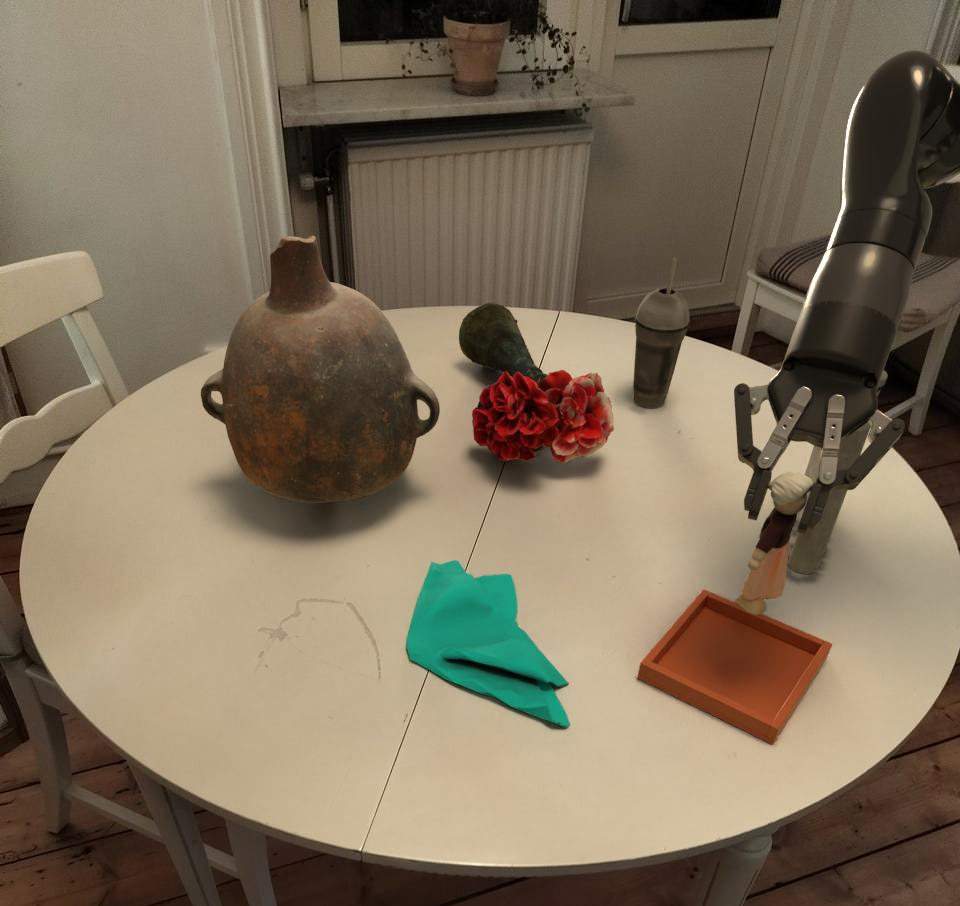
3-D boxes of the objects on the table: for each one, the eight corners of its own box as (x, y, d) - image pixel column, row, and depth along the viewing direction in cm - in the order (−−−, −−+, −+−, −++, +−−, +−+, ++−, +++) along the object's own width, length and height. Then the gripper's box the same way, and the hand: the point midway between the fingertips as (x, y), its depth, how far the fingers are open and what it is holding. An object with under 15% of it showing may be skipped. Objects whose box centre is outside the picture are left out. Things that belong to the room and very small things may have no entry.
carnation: (478, 411, 134) (577, 525, 109) (386, 348, 123) (474, 459, 98) (541, 326, 129) (660, 425, 104) (452, 252, 118) (562, 343, 93)
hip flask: (797, 494, 105) (848, 335, 91) (831, 500, 104) (888, 341, 91) (786, 570, 94) (843, 403, 80) (825, 578, 93) (888, 410, 79)
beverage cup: (668, 388, 125) (694, 244, 111) (680, 412, 119) (708, 265, 106) (618, 388, 124) (638, 244, 111) (628, 413, 119) (650, 265, 105)
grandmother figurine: (771, 627, 73) (814, 504, 65) (726, 614, 75) (763, 491, 66) (787, 576, 79) (829, 455, 70) (745, 564, 80) (782, 444, 71)
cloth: (382, 573, 93) (380, 556, 91) (503, 553, 96) (504, 536, 94) (440, 755, 74) (439, 738, 73) (588, 724, 77) (591, 707, 76)
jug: (397, 429, 115) (384, 184, 94) (456, 516, 101) (456, 249, 80) (212, 464, 108) (155, 208, 87) (247, 563, 93) (188, 284, 73)
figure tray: (826, 659, 84) (832, 643, 83) (772, 744, 76) (778, 729, 75) (699, 603, 90) (703, 588, 88) (636, 678, 82) (640, 662, 80)
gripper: (760, 281, 67) (688, 490, 68) (953, 317, 63) (874, 540, 63) (759, 322, 74) (694, 511, 75) (932, 357, 70) (861, 557, 70)
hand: (777, 523), depth 69 cm, fingers closed on grandmother figurine, 3 cm apart
